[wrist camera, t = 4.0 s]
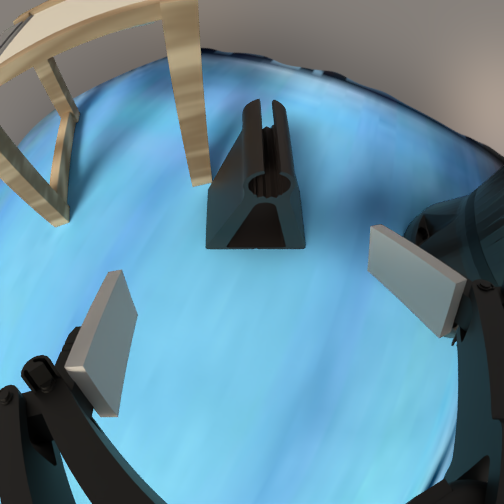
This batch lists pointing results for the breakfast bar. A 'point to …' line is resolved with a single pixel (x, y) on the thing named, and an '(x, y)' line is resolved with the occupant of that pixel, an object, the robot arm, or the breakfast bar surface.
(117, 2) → the trapdoor
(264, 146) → the phone stand
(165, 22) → the trapdoor frame
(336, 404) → the breakfast bar surface
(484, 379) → the robot arm
